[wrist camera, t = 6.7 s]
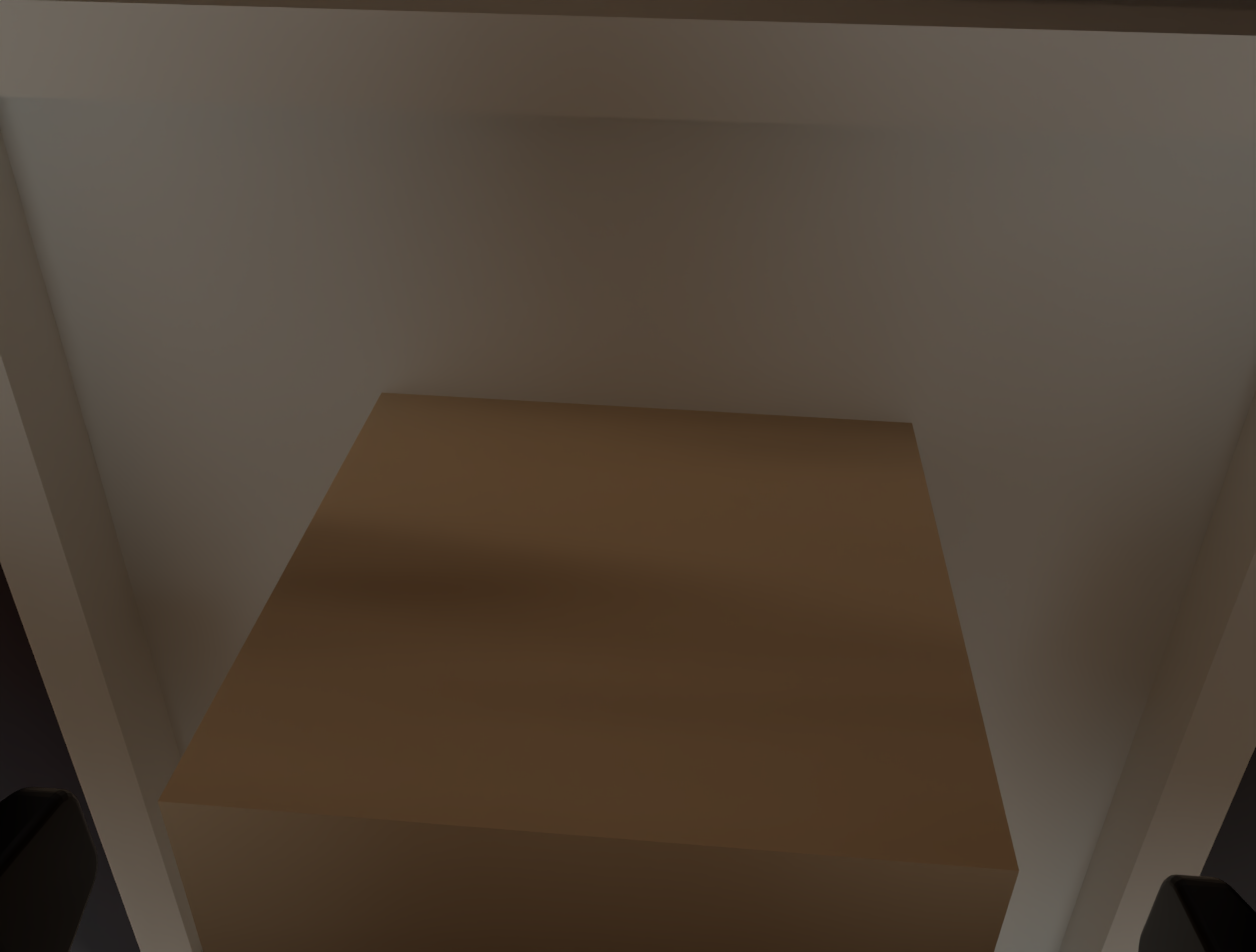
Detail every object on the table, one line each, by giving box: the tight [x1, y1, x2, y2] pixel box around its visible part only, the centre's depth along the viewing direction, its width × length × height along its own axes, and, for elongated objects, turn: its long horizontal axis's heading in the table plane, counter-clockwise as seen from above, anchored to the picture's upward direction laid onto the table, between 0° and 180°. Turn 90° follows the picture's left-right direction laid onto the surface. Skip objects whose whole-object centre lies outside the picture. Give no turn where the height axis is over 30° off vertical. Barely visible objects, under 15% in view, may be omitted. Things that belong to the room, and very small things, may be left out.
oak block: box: [158, 393, 1019, 952], centre depth 10 cm, size 5×5×5 cm
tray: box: [0, 0, 1256, 952], centre depth 12 cm, size 12×12×2 cm
